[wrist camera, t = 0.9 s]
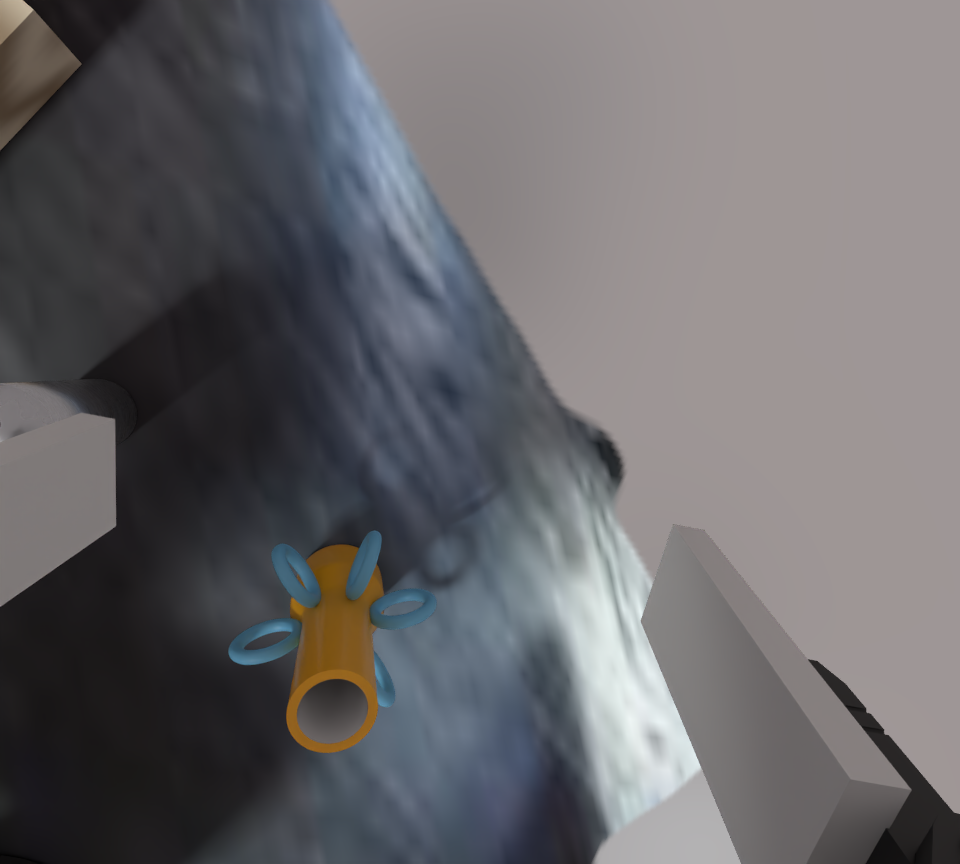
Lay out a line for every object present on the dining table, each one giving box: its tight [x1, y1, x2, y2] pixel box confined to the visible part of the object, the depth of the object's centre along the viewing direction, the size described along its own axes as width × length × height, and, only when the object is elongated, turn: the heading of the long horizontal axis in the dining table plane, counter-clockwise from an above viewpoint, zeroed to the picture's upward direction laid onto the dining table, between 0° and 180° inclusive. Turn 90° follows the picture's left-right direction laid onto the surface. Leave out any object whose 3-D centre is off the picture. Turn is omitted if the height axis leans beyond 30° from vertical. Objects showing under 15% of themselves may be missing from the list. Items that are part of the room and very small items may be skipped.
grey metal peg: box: [0, 379, 137, 445], centre depth 29 cm, size 4×4×10 cm
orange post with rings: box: [229, 530, 437, 753], centre depth 32 cm, size 12×10×15 cm
